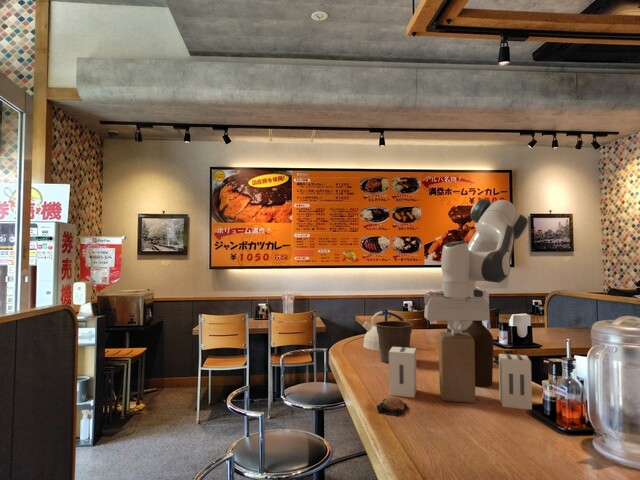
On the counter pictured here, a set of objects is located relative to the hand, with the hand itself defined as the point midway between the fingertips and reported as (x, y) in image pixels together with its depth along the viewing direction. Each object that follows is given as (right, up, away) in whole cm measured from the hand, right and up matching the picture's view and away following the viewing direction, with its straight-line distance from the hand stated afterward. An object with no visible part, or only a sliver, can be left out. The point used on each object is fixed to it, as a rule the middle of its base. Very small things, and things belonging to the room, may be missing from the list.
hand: (456, 334), depth 132 cm
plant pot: (-11, -23, +47) cm, 54 cm away
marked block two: (+16, -20, -6) cm, 26 cm away
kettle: (-12, -24, +76) cm, 80 cm away
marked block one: (-16, -20, +5) cm, 26 cm away
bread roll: (-23, -20, -10) cm, 32 cm away
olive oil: (+13, -21, +15) cm, 29 cm away
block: (0, -20, 0) cm, 20 cm away
